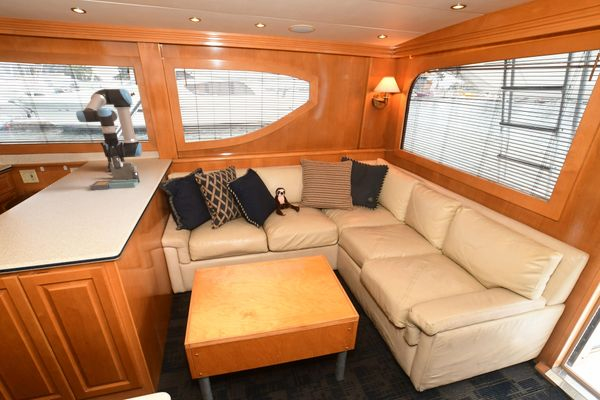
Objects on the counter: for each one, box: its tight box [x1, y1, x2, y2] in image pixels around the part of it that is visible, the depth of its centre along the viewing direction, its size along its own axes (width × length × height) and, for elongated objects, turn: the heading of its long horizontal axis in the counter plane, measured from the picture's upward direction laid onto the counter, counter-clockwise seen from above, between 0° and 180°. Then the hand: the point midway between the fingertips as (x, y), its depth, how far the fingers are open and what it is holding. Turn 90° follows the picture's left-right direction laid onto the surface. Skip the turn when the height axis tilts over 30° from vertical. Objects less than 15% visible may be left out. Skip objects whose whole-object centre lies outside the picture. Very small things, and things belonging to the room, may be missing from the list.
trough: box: [108, 179, 139, 190], centre depth 195 cm, size 8×16×4 cm, turn 104°
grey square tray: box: [90, 179, 114, 191], centre depth 192 cm, size 10×10×4 cm
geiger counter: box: [105, 161, 139, 180], centre depth 209 cm, size 14×6×25 cm
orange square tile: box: [95, 180, 109, 185], centre depth 192 cm, size 7×7×1 cm
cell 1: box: [112, 156, 122, 169], centre depth 189 cm, size 4×4×9 cm
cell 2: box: [131, 170, 141, 184], centre depth 203 cm, size 4×4×9 cm
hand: (118, 166), depth 190 cm, fingers closed on cell 1, 4 cm apart
